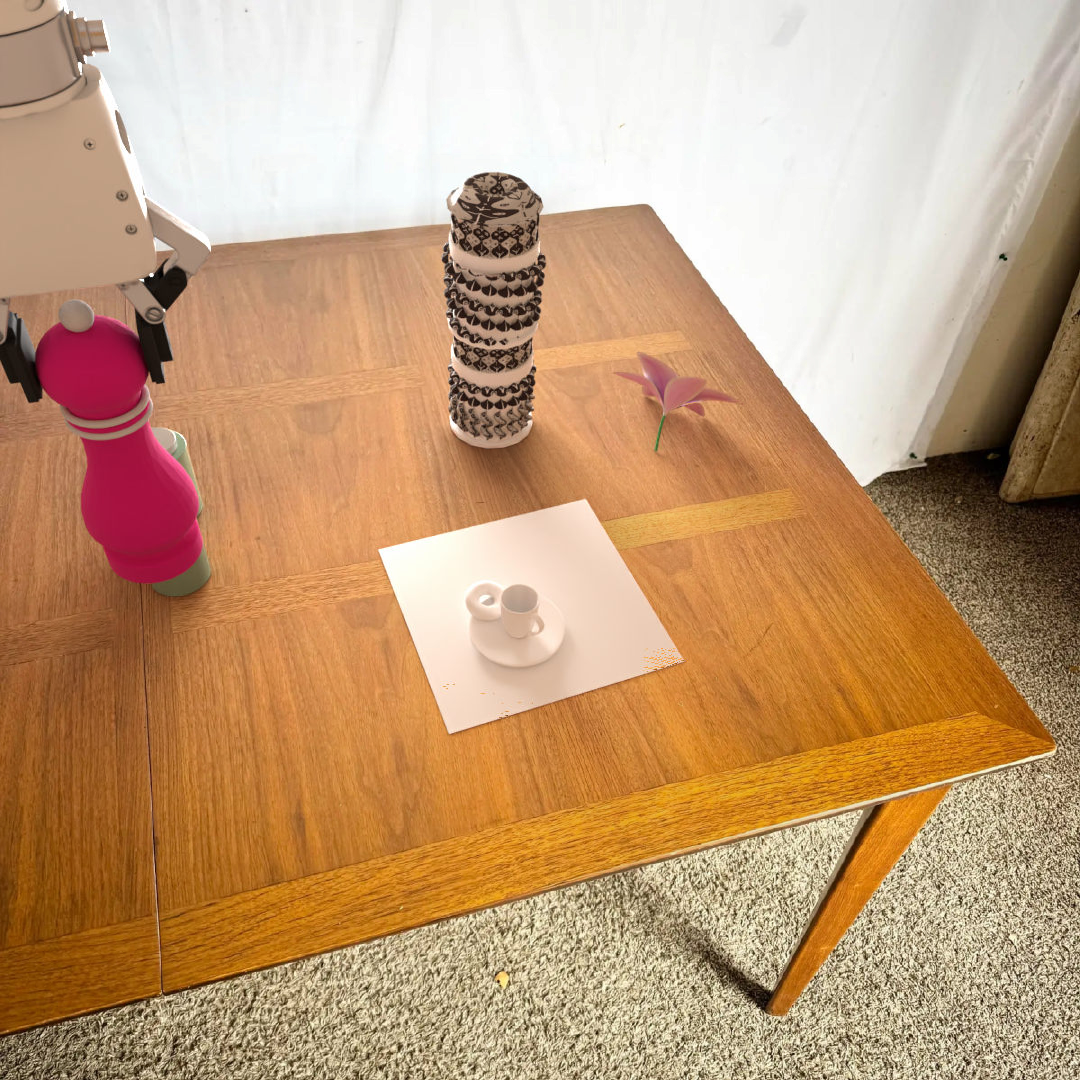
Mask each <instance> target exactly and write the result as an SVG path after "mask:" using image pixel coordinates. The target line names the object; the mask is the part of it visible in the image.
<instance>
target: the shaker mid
mask: <svg viewBox="0 0 1080 1080" xmlns="http://www.w3.org/2000/svg"><path fill="white" fill-rule="evenodd" d="M196 520H197V522H198V525H199V521H198V516H197V517H196ZM199 529H200V532H201V536H202V540H203V547H202V551H201V554H200V556H199V557H198V559H197V560H196V562H195V563H194V564H193V565H192V566H191V567H190V568H189V569H188V570H187V571H186V572H184V573H182V574H180V575H178V576H176V577H175V578H173V579H170V580H166V581H163V582H159V583H152V584H150V586H151V588H152V589H153V590H154V591H155V592H157V593H158V594H161V595H163V596H165V597H166V596H167V597H183V596H184V597H185V596H188V595H190V594H192V593H194V592H196V591H198V590H200V589H201V588H202V587H204V586H205V585H206V583H207V582H208V581H209V579H210V577H211V573H212V565H211V562H210V558H209V555H208V552H207V548H206V545H205V541H204V538H203V535H202V534H203V533H202V530H201V528H200V525H199Z"/></svg>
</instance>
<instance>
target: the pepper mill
mask: <svg viewBox="0 0 1080 1080" xmlns="http://www.w3.org/2000/svg"><path fill="white" fill-rule="evenodd" d="M58 319H59V322H57V323H55V324H54V325H52V326H51V327H50V328H49V329H48V330H47V331H46V332H45V333H44V334H43V335H42V337H41V338H40V340H39V342H38V344H37V346H36V349H35V352H36V353H35V369H36V373H37V377H38V379H39V382H40V384H41V386H42V388H43V391H44V392H45V393H46V395H47V396H48V397H49V398H50V399H51V400H52V401H54V402H55V403H57V404H58V405H59V410H60V413H61V415H62V416H63V419H64V423H65V426H66V428H67V429H68V430H69V431H70V432H71V433H72V434H74V435H75V436H78V437H79V438H80V440H81V442H82V444H83V448H84V453H85V456H86V464H87V465H86V470H85V475H84V479H83V482H82V488H81V492H80V511H81V515H82V516H81V517H82V519H83V523H84V526H85V528H86V530H87V532H88V534H89V535H90V537H91V538H92V539H93V540H94V541H95V542H97V543H98V544H99V545H101V546H102V549H103V551H104V554H105V557H106V559H107V563H108V564H109V567H110V569H111V570H112V572H114V573H115V574H116V575H117V576H118V577H119V578H121V579H123V580H125V581H127V582H131V583H134V584H149V585H151V584H152V583H159V582H163V581H166V580H170V579H173V578H175V577H176V576H178V575H180V574H182V573H184V572H186V571H187V570H188V569H189V568H190V567H191V566H192V565H193V564H194V563H195V562H196V560H197V559H198V557H199V556H200V554H201V551H202V547H203V541H204V539H203V540H202V538H203V535H202V536H201V534H202V531H201V528H200V529H199V527H200V525H198V524H199V521H198V519H197V520H196V517H197V518H198V516H197V514H198V510H199V498H198V494H197V491H196V489H195V487H194V484H193V482H192V480H191V478H190V476H189V475H188V474H187V472H186V471H185V469H184V468H183V467H182V466H181V464H180V463H179V462H178V461H177V460H176V459H175V458H174V457H172V456H171V455H170V454H169V453H168V452H167V451H166V450H165V449H164V448H163V447H162V446H161V445H160V443H159V442H158V441H157V439H156V438H155V436H154V434H153V432H152V429H151V428H152V427H151V424H150V418H152V415H153V410H154V404H153V400H152V398H151V397H150V396H151V395H150V389H149V388H148V386H147V385H146V383H147V381H148V378H149V376H150V373H149V370H148V367H147V363H146V360H145V356H144V353H143V349H142V346H141V343H140V339H139V336H138V333H136V332H135V331H134V330H133V329H132V328H131V327H129V326H128V325H127V324H125V323H124V322H122V321H120V320H118V319H117V318H113V317H111V316H107V315H100V314H95V313H94V310H93V309H92V307H91V306H90V305H89V304H88V303H87V302H85V301H83V300H81V299H69V300H66V301H65V302H64V303H62V304H61V306H60V307H59V309H58ZM197 521H198V522H197ZM200 531H201V532H200Z"/></svg>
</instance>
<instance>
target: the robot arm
mask: <svg viewBox="0 0 1080 1080" xmlns="http://www.w3.org/2000/svg"><path fill="white" fill-rule="evenodd" d="M100 53H101V54H102V53H111V46H110V40H109V35H108V32H107V29H106V25H105V22H104V19H94V20H92V19H91V20H87V18H86V17H85V16H84V17H83V16H82V17H77V16H76V13H75V10H69V9H68V5H67V1H66V0H0V364H1V366H2V368H3V371H4V373H5V375H6V376H5V377H6V378H7V380H8V382H9V384H10V385H13V384H20V386H21V389H22V391H23V393H24V395H25V398H26V400H27V403H28V404H34V403H39V402H40V400H43V397H44V396H43V394H44V393H43V391H44V389H43V388H42V386H41V384H40V382H39V379H38V377H37V373H36V369H35V353H36V349H35V347H34V344H33V342H32V338H31V337H30V334H29V332H28V329H27V326H26V324H25V321H24V319H23V317H19V315H18V313H17V312H14V311H11V310H10V309H11V308H10V307H11V299H12V298H19V297H28V296H37V295H45V294H53V293H62V292H69V291H70V292H71V291H78V290H87V289H95V288H101V287H109V286H116V287H117V288H118V290H119V291H120V292H121V293H122V295H123V296H124V297H125V298H126V299H127V300H128V302H129V303H130V304H131V305H132V306H133V308H134V315H135V326H136V332H137V336H138V337H139V339H140V343H141V346H142V349H143V353H144V356H145V360H146V363H147V367H148V370H149V376H150V379H151V383H155V384H156V385H161V384H167V383H166V375H165V366H164V363H167V362H173V361H175V358H174V352H173V347H172V343H171V339H170V336H169V332H168V329H167V328H168V327H167V324H166V321H165V320H166V317H167V314H166V312H167V311H168V310H169V309H171V307H172V306H173V304H174V303H175V302H176V301H177V299H178V298H179V297H180V296H181V294H182V293H183V292H184V291H185V290H186V288H187V286H188V282H189V281H190V279H191V278H192V277H194V276H195V275H196V274H197V273H198V272H199V270H201V268H202V267H203V266H204V265H205V264H206V262H207V261H208V260H209V258H210V257H211V255H212V250H211V245H210V241H209V239H208V237H207V236H206V235H205V234H204V233H203V232H201V231H200V230H199V229H196V228H195V227H193V226H192V225H190V224H189V223H188V222H186V221H184V220H183V219H182V218H180V217H178V216H176V214H174V213H172V212H171V211H169V210H168V209H166V208H165V207H163V206H161V205H160V204H158V203H157V202H156V201H154V200H153V199H151V198H150V197H148V195H147V193H146V188H145V186H144V182H143V179H142V175H141V173H140V169H139V166H138V162H137V159H136V156H135V152H134V149H133V147H132V144H131V141H130V138H129V135H128V132H127V129H126V127H125V126H126V125H125V124H124V121H123V118H122V115H121V113H120V111H119V108H118V106H117V104H116V102H115V99H114V97H113V95H112V92H111V90H110V88H109V86H108V83H107V82H106V80H105V77H104V76H103V74H102V72H101V70H100V69H99V68H98V67H96V66H95V65H92V64H91V63H87V57H95V54H100ZM155 239H157V240H159V242H162V243H163V244H165V245H167V246H168V247H170V248H171V249H173V250H174V251H172V254H171V256H170V257H168V258H166V259H165V260H164V261H163V262H162V263H161V264H160V266H159V267H158V255H157V246H156V240H155Z"/></svg>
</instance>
